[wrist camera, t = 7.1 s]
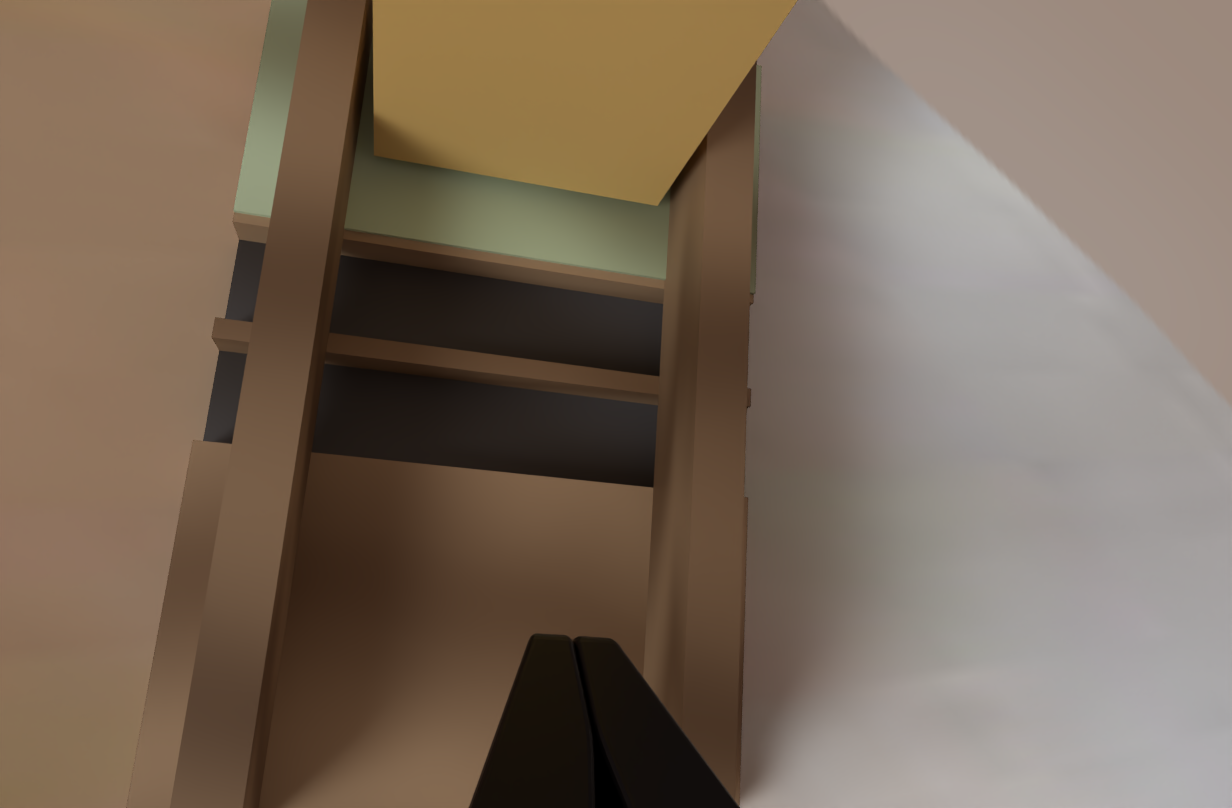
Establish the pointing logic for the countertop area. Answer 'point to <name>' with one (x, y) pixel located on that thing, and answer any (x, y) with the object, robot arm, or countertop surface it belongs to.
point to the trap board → (448, 453)
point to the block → (562, 86)
